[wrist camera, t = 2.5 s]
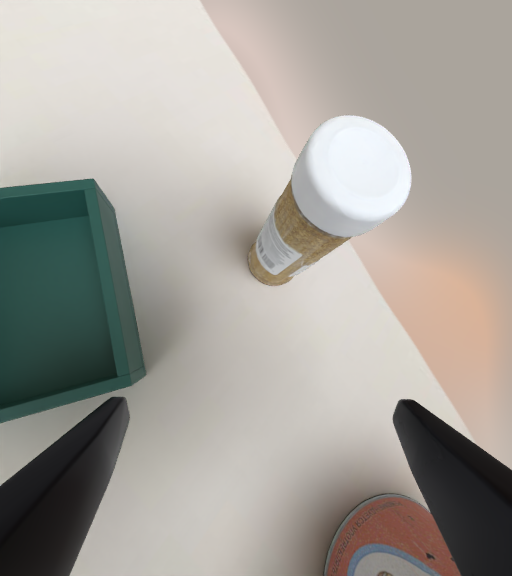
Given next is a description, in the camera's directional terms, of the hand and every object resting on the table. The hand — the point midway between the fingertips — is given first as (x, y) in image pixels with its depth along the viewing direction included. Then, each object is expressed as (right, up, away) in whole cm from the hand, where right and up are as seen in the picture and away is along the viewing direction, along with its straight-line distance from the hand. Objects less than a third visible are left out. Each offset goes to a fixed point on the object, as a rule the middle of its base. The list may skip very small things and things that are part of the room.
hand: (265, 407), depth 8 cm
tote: (-15, +3, +10) cm, 18 cm away
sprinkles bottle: (+1, +6, +14) cm, 16 cm away
